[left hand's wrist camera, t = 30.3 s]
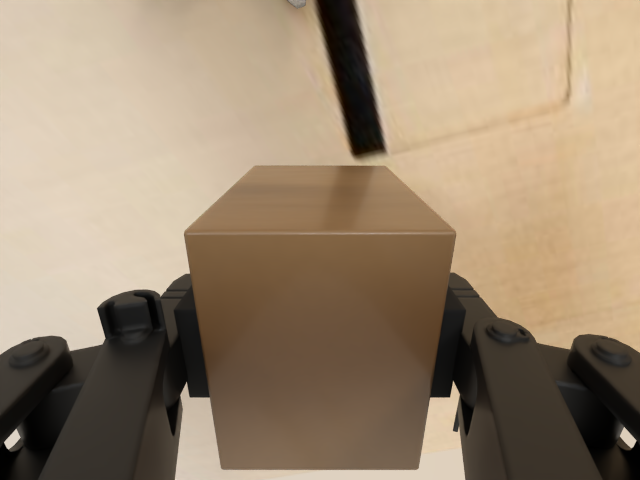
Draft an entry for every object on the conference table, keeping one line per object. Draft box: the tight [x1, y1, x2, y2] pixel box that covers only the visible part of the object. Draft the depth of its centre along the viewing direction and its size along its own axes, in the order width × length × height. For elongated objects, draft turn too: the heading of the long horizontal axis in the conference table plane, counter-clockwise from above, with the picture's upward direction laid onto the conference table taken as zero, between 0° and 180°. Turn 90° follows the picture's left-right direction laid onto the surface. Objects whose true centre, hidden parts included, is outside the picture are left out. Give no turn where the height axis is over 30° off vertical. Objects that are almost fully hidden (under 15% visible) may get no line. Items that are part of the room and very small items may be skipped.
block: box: [184, 166, 456, 470], centre depth 11 cm, size 7×5×8 cm
